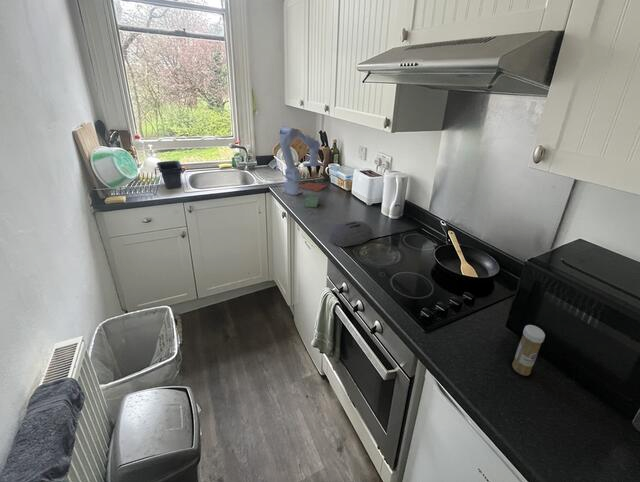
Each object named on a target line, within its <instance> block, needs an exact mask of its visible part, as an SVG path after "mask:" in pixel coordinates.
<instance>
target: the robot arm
mask: <svg viewBox="0 0 640 482" xmlns="http://www.w3.org/2000/svg"><path fill="white" fill-rule="evenodd" d="M278 136H279V146H280V150H281V153H282V156H283V159H284V160H283V161H284V163H285V167H286V168H285V169H284V172H285V174H284V176H285V178H286V179H285V180H284V183H283V194H286V195H290V196H298V195H299V194H302V191H300V188H299V186H300V182H301V179H302V173H301V171H300V169H299V168H298V167H297V166H296V164H295V160H294V156H293V153H292V149H291V146H290V144H291V143H293V141H294V140H295V139H296V138H297V139H300V140H301V142H302V144H305V145H306V146H307V147H308V148H309V162H307V163H303V164H302V166H303V168H307V171H308V174H309V177H310V178H311V171H313V170H312V169H313V168H312V167H315V171H316V172H317V177H318V176H319V172H320V170H321V167H324V166H325V163H324V162H319V151H320V149H319V148H320V147H321V144H320V143H321V142H320V141H318V140H315V138H313V137H311V135H309V134H303V133H302V132H301V131H299V130H298V129H296V128H294V127H288V126H281V127H280V129H279V131H278Z"/></svg>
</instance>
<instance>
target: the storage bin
mask: <svg viewBox="0 0 640 482" xmlns="http://www.w3.org/2000/svg"><path fill="white" fill-rule="evenodd" d="M182 170H183V165H182V163H180V161H179V160H166V161H159V162H156V167H154V174H155V175H157V171H159V173H160V174H161V176H162V181H163V184H164V185H165V188H166V189H167V190H172V189H180V188H182V178H181V177H182V176H181V171H182Z"/></svg>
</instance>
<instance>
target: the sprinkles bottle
mask: <svg viewBox="0 0 640 482" xmlns="http://www.w3.org/2000/svg"><path fill="white" fill-rule="evenodd" d="M545 337H546V334H545V332H544V331H543V329H541V328H540V327H538V326H536V325H533V324H527V325H525V326H524V328H523V331H522V336H521V339H520V341H519V344H518V346H517V349H516V352H515V355H514V359H513V361H512V363H511V366H512V368H513V370H514V371H515V372H516V373H518V374H519V375H521V376H530V375H531V373H532V370H533V367H534V365H535V362H536V360H537V357H538V354H539V351H540V348H541V345H542V343H543V342H544V341H545Z"/></svg>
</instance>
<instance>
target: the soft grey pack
mask: <svg viewBox="0 0 640 482" xmlns="http://www.w3.org/2000/svg"><path fill="white" fill-rule="evenodd" d="M330 238H331V241H332V243H333V244H334V245H337V246H338V247H342V248H345V247H355V246H358V245H362V244H364V243H367V242H368V241H370V240H371V239H372V238H373V229H372V227H371V226H370V225H368V224H367V223H365V222H363V221H361V220H360V221H357V220H356V221H348V222H347V221H346V222H342V223H340V224H337V225H336V226H334V227H333V228H332V230H331V232H330Z"/></svg>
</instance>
